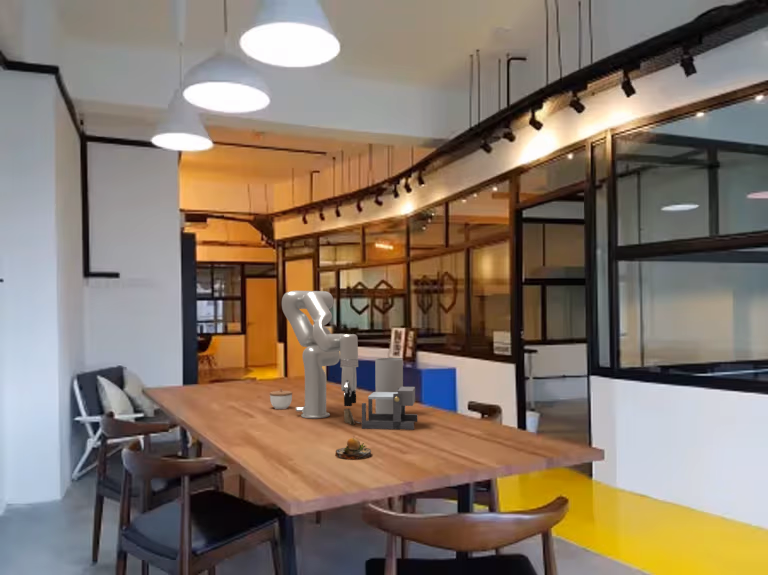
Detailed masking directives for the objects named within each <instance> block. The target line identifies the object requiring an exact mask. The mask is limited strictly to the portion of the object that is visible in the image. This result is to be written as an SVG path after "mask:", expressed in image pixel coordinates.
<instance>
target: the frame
mask: <svg viewBox="0 0 768 575" xmlns="http://www.w3.org/2000/svg"><path fill="white" fill-rule="evenodd" d="M399 389H400V388H398V390H399ZM367 399H368V398H367ZM367 402H368V405H367V403H366V402H362V403H361V423H362V424H361V429H364V430H366V429H367V430H368V429H371V430H400V429H405V430H406V431H407V430H409V431H410V430H411V431H414V430H415V423H418V421H419V420H418V419H419V418H418V414H417V413H416V414H415V413H406V406H401V394H393V414H378V413H376V412H375V413H374V412H373V399H368V400H367ZM367 408H368V410H367ZM367 411H368V412H367ZM367 413H368V414H367ZM367 416H368V417H367ZM367 418H368V420H367Z"/></svg>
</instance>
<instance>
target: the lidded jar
mask: <svg viewBox="0 0 768 575" xmlns="http://www.w3.org/2000/svg"><path fill="white" fill-rule="evenodd" d="M269 399H270V400H269V401H270V403H271V406H272V407H273V408H274V410H286V409H288V408H289V407H290V406H291V404H292V399H293V391H290V390H283V388H279V390H273V391H270V392H269Z"/></svg>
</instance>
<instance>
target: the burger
mask: <svg viewBox="0 0 768 575" xmlns="http://www.w3.org/2000/svg"><path fill="white" fill-rule="evenodd" d="M346 444H347V445H346V446H345V447H341V448H338V449H336V450H335V455H334V456H335V457H336V458H337V459H341V458H342V459H343V458H344V459H345V460H362V459H368V458H370V457H371V456H372V453H371V452H372V450H371V449H370V448H368V447H366V445H364V444H365V443H362V444H361V441H360V440H359V439H358V438H355V437H351V438H349V439H348V440H347V442H346Z"/></svg>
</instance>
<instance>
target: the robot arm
mask: <svg viewBox="0 0 768 575" xmlns="http://www.w3.org/2000/svg"><path fill="white" fill-rule="evenodd" d="M333 306H334V297H333V295H332V294H331V293H330V292H329V291H325V290H320V291H319V290H313V291H312V290H291V291H290V290H289V291H287V292H285V293H284V294H283V296H282V298H281V309H282V312H283V314H284V316H285V318H286V319H287V321H288V323H289V324H290V326H291V328H292V330H293V332H294V335H295V337H296V339H297V341H298V343H299V345H300V346H301V347H302V348H303V347H304V349H303V352H302V362H303V366H304V406H296V407H295V412H301V413H300V414H301V417H302V418H303V419H305V418H306V419H322V418H323V419H324V418H328V417H330V415H331V414H330V413H329V412H327V375H326V371H325V370H324V368H323V367H327V366H329V367H331V366H335V365H337V364H338V363H339V364H340V366H339V367H340V368H341V389H340V390H341V392H344V393H343V406H344V407H352V406H353V404H356V403H357V391H356V389H357V368H359V350H358V349H359V347H358V344H359V343H358V342H359V341H358V340H359V339H358V335H357V334H354V333H352V334H351V333H348V334H347V333H346V334H345V333H331V331H330V330H329V328H327V327H325V326H326V325H327V324H329V323H330V322H331V320H332V318H333V315H332V312H331V311H330V309H332V307H333ZM302 310H307V313H308V314H309V316H310V318H311V320H313V324H312V323H311V321H310V319H309V317H308V315H307V314H306V313H304V312H303V311H302Z"/></svg>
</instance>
